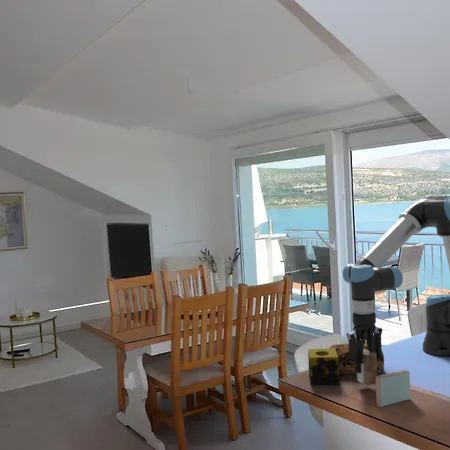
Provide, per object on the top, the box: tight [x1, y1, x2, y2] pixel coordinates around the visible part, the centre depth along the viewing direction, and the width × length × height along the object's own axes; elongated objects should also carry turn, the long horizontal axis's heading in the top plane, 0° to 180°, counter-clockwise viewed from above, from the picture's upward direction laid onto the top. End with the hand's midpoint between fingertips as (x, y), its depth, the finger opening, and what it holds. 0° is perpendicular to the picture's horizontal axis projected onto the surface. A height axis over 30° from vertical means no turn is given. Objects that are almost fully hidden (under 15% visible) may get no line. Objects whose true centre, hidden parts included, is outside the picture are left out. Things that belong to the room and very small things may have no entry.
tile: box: [375, 369, 411, 408], centre depth 158 cm, size 12×2×9 cm, turn 115°
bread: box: [329, 341, 385, 375], centre depth 188 cm, size 19×11×10 cm, turn 85°
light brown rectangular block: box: [355, 349, 378, 386], centre depth 170 cm, size 4×6×10 cm, turn 25°
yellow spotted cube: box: [307, 348, 340, 386], centre depth 180 cm, size 10×10×10 cm
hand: (366, 380), depth 170 cm, fingers closed on light brown rectangular block, 4 cm apart
